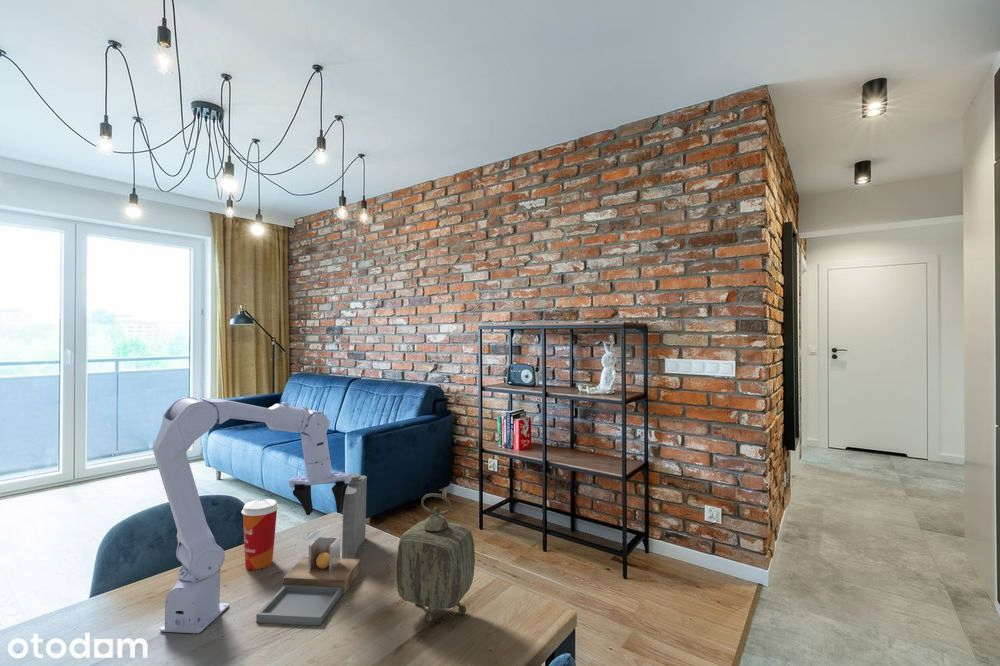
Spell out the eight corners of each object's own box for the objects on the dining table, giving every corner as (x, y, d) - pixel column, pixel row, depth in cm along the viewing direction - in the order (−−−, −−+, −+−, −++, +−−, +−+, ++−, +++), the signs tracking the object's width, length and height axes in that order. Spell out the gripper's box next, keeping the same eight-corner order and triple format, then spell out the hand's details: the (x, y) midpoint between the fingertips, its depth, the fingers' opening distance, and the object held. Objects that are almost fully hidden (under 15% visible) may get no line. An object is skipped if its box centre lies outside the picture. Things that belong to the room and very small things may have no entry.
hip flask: (353, 563, 119) (355, 484, 119) (336, 564, 118) (338, 484, 119) (366, 536, 135) (367, 466, 135) (351, 537, 134) (353, 466, 134)
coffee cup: (241, 559, 119) (242, 500, 120) (277, 554, 123) (278, 496, 123) (238, 575, 112) (240, 511, 112) (277, 568, 115) (278, 507, 115)
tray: (320, 625, 93) (320, 617, 93) (256, 622, 94) (256, 614, 94) (341, 594, 104) (342, 587, 105) (284, 592, 105) (284, 584, 105)
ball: (327, 571, 109) (328, 556, 109) (313, 571, 109) (313, 556, 109) (333, 564, 112) (334, 550, 112) (319, 563, 112) (320, 549, 112)
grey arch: (331, 572, 108) (331, 546, 108) (308, 571, 108) (308, 545, 108) (339, 562, 113) (340, 537, 113) (317, 561, 113) (318, 536, 113)
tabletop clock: (474, 611, 99) (476, 492, 99) (455, 636, 91) (458, 506, 91) (413, 597, 104) (415, 483, 104) (390, 620, 96) (393, 496, 96)
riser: (344, 594, 105) (344, 580, 105) (282, 591, 105) (283, 577, 105) (359, 571, 115) (360, 559, 115) (303, 569, 115) (303, 556, 115)
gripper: (352, 450, 117) (359, 502, 119) (295, 455, 118) (303, 506, 120) (342, 461, 110) (349, 516, 112) (281, 466, 111) (290, 520, 113)
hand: (325, 512), depth 115 cm, fingers open, 7 cm apart
